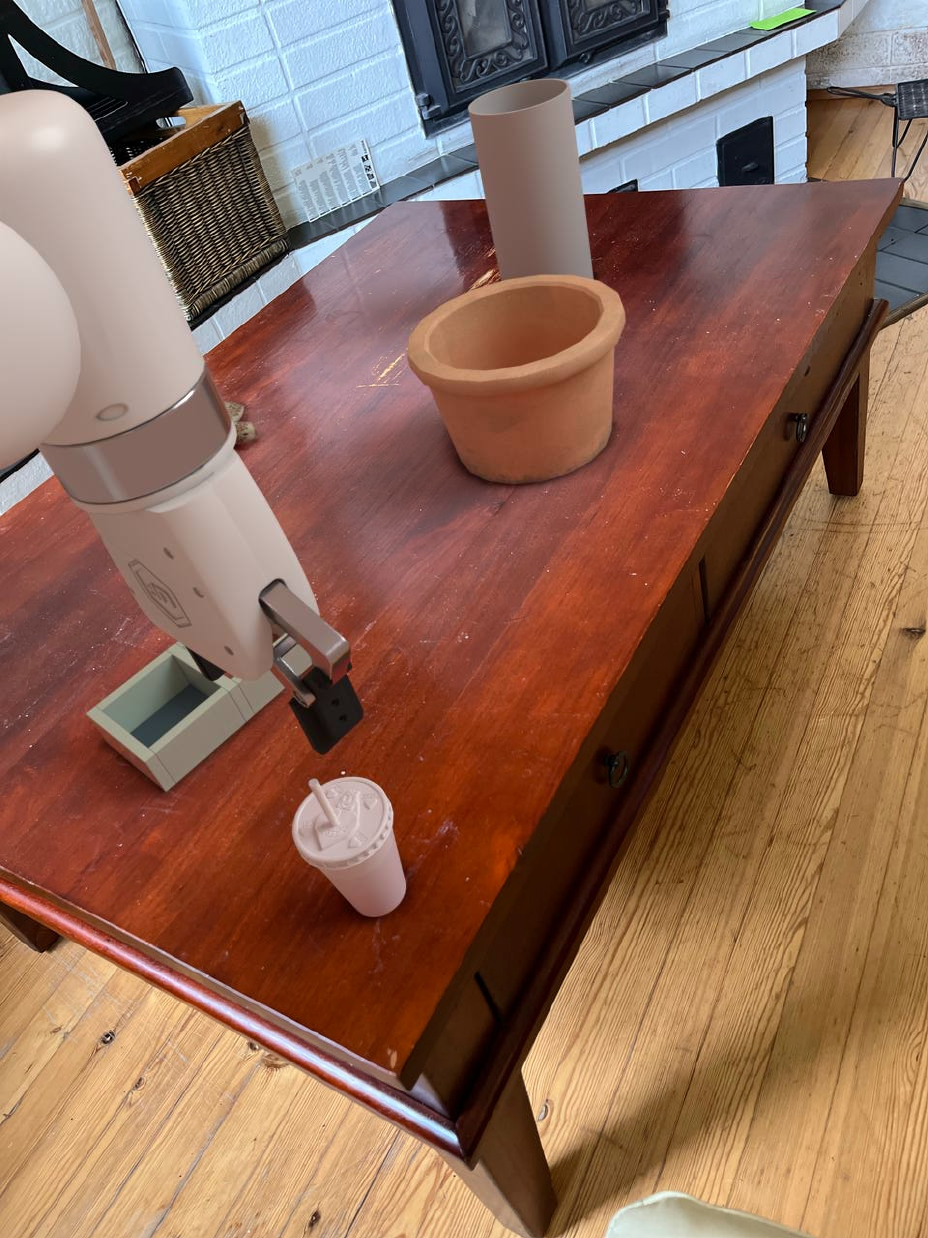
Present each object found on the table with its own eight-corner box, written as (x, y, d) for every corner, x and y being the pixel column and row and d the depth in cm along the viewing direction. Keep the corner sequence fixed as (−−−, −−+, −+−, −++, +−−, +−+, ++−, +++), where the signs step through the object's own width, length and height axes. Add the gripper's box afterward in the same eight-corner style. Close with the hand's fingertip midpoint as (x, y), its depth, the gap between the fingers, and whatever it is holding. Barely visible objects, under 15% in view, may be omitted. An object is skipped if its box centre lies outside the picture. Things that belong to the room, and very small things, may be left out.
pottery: (491, 386, 112) (467, 272, 102) (665, 399, 101) (656, 274, 92) (402, 491, 99) (365, 372, 90) (590, 518, 89) (570, 387, 79)
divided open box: (170, 798, 74) (144, 762, 71) (111, 749, 80) (85, 713, 76) (329, 658, 82) (312, 620, 79) (265, 622, 88) (247, 585, 85)
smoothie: (321, 927, 63) (245, 808, 53) (362, 847, 67) (298, 725, 57) (403, 951, 60) (339, 831, 51) (441, 867, 64) (387, 742, 55)
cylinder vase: (487, 301, 130) (448, 110, 113) (554, 265, 134) (525, 75, 117) (543, 322, 121) (510, 118, 104) (613, 283, 125) (591, 81, 108)
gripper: (-27, 434, 42) (144, 682, 53) (181, 544, 31) (336, 821, 43) (108, 353, 45) (241, 603, 56) (335, 428, 35) (441, 714, 46)
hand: (282, 697), depth 50 cm, fingers open, 9 cm apart
